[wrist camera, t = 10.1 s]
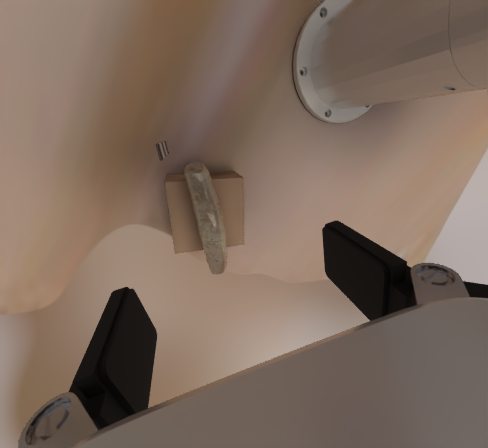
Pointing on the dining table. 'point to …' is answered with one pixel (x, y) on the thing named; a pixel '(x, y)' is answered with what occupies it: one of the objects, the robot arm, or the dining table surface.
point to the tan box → (184, 215)
